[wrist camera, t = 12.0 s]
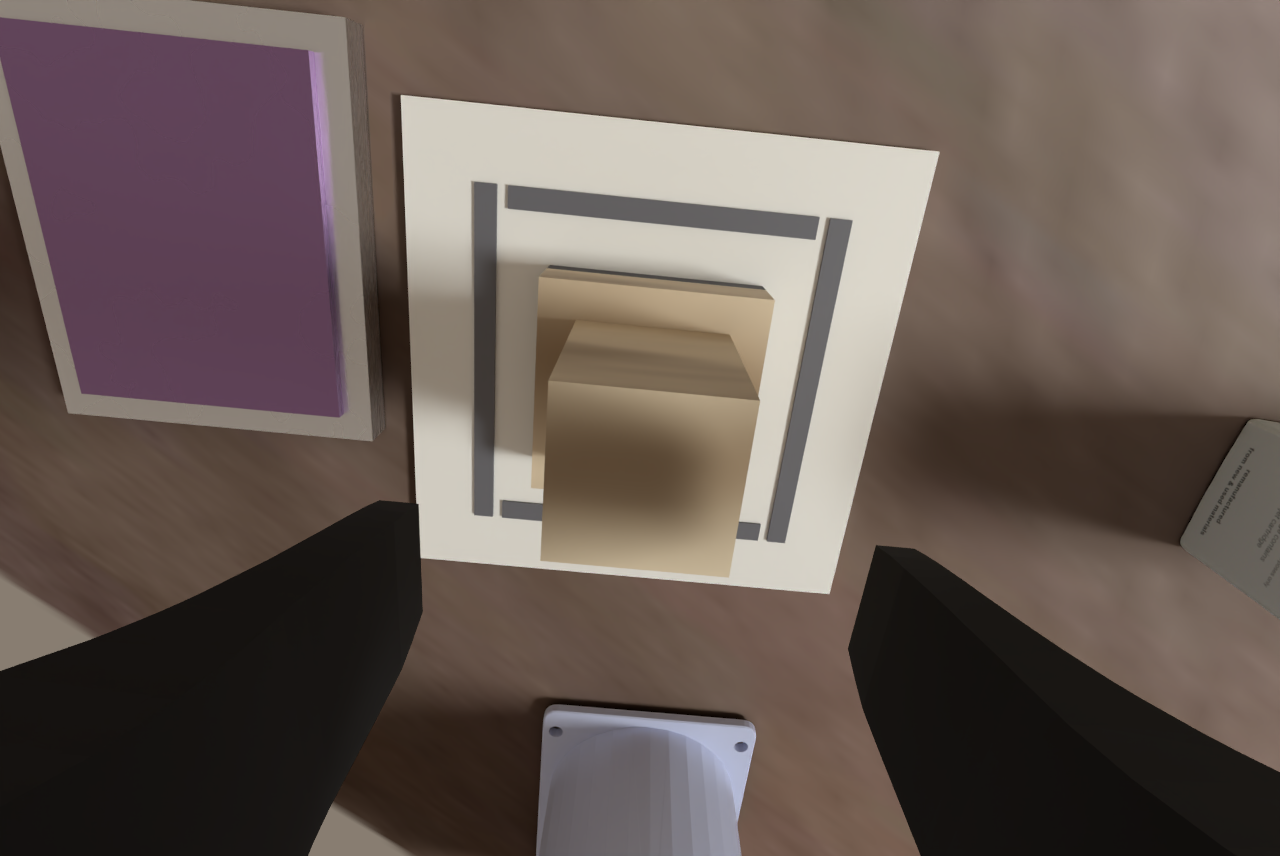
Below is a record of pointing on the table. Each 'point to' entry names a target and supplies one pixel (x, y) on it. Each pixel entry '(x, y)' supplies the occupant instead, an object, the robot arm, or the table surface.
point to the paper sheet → (653, 245)
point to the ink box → (1243, 517)
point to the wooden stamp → (645, 417)
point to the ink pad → (197, 210)
